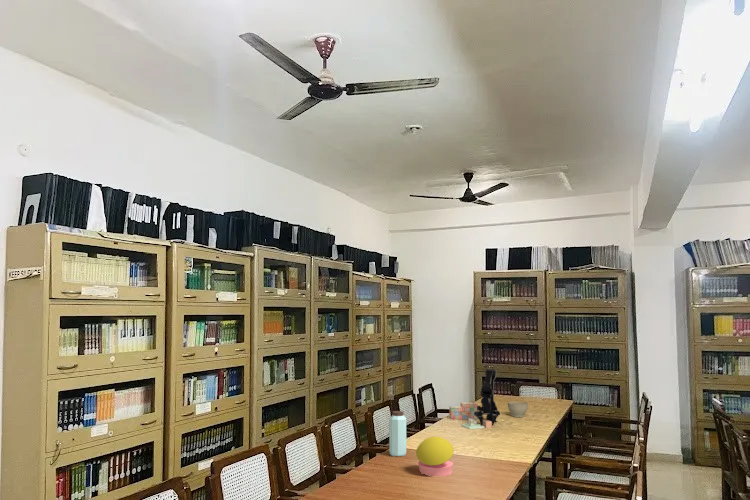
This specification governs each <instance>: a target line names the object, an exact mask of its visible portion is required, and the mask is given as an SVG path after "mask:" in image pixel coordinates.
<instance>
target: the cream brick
mask: <svg viewBox="0 0 750 500" xmlns="http://www.w3.org/2000/svg"><path fill="white" fill-rule="evenodd" d="M467 420H468V422H467V423H468V424H469V425H477V424H478V422H477V421H478V419H474V418H470V419H467Z"/></svg>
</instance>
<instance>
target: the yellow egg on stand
mask: <svg viewBox="0 0 750 500" xmlns="http://www.w3.org/2000/svg"><path fill="white" fill-rule="evenodd" d="M454 451H455V449H454V446H453V444H452V443H451V442H450V441H448V440H447V439H446V438H443V437H441V436H429V437H427V438H426V439H424V440H423V441H421V442H420V443H419V445H418V446H417V448H416V451H415V454H416V457H417V460H418V467H419V468H418V469H419V471H420V472H421V473H422V474H425V475H430V476H445V477H448V476H447V475H449V476H451V475H452V474H453V467H454V462H452V461H451V460H450V459H451V458H452V457H453V455H454ZM420 472H419V473H420ZM421 473H420V474H421ZM422 474H421V475H422ZM450 474H451V475H450ZM425 475H424V476H425ZM430 476H429V477H430Z"/></svg>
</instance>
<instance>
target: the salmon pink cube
mask: <svg viewBox="0 0 750 500" xmlns="http://www.w3.org/2000/svg"><path fill="white" fill-rule="evenodd" d="M482 426H484V428H485V429H490V428H493V427H492V426H493V425H492V422H491V421H489V420H483V425H482Z"/></svg>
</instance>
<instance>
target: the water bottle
mask: <svg viewBox="0 0 750 500" xmlns="http://www.w3.org/2000/svg"><path fill="white" fill-rule="evenodd" d="M391 412H392V415H391V416H390V417H389V422H388V423H389V427H388V428H389V434H388V435H389V442H388V443H389V444H388V445H389V446H388V447H389V448H388V449H389V455H390V456H392V457H395V456H402V457H404V456H406V454H407V418H406V416H405V415H404V411H401V410H393V411H391Z"/></svg>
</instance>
